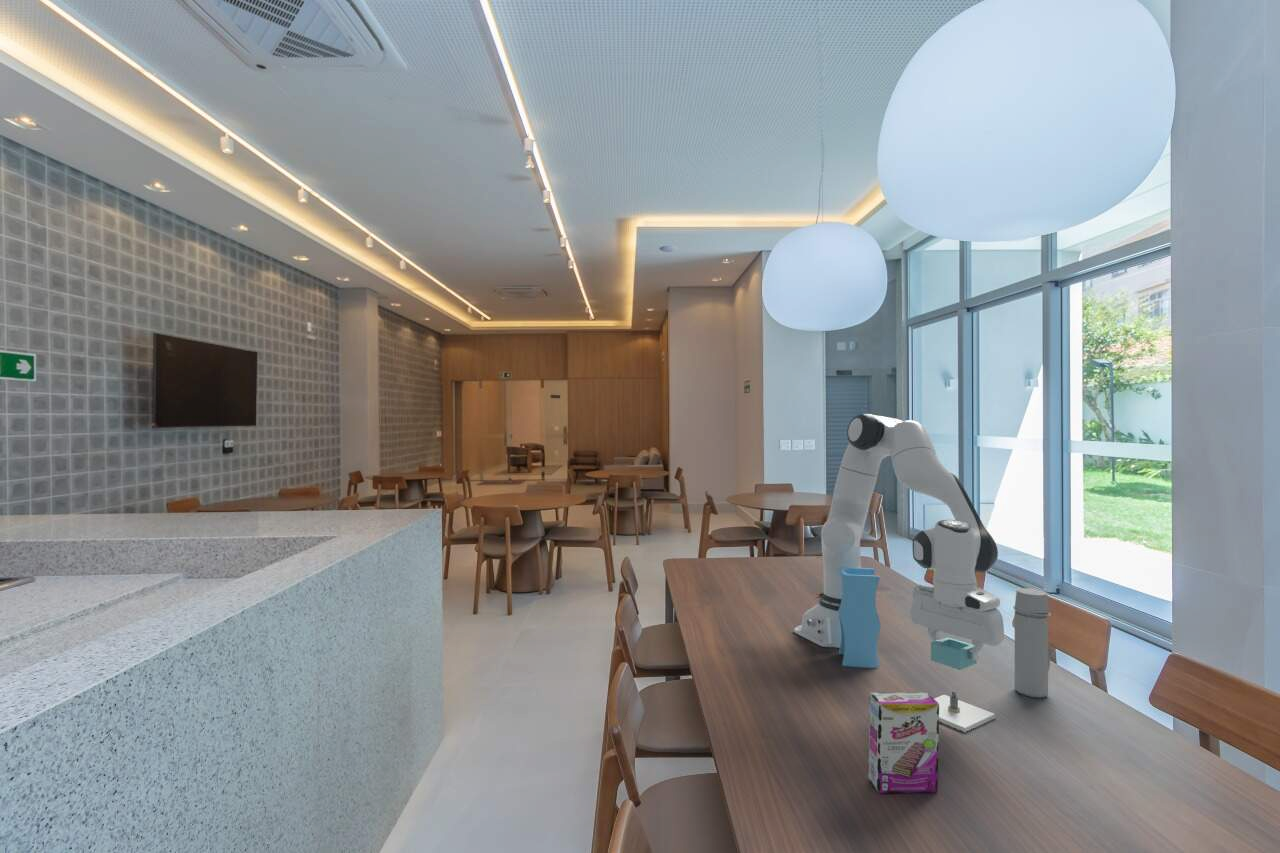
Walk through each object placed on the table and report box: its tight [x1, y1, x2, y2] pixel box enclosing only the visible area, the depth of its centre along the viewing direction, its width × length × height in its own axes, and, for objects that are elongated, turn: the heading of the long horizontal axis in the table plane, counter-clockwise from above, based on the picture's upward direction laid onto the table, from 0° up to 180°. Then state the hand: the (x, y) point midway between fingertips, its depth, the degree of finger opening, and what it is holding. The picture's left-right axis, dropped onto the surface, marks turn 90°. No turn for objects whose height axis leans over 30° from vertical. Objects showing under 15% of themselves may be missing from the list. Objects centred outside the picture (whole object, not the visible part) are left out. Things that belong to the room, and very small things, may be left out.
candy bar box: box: [867, 692, 940, 794], centre depth 113 cm, size 11×5×16 cm, turn 92°
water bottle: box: [1013, 587, 1052, 699], centre depth 153 cm, size 9×8×25 cm
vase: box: [838, 567, 881, 669], centre depth 174 cm, size 10×10×25 cm
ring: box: [930, 636, 978, 671], centre depth 141 cm, size 7×7×4 cm
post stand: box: [933, 690, 996, 733], centre depth 141 cm, size 12×12×5 cm
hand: (954, 653), depth 141 cm, fingers closed on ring, 7 cm apart
